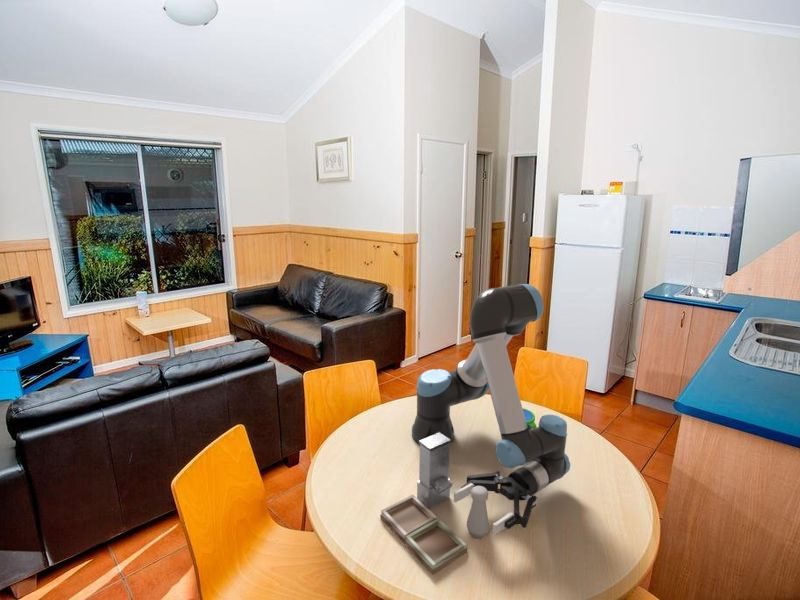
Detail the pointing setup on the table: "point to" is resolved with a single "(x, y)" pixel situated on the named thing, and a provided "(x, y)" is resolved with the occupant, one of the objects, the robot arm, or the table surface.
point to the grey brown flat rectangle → (423, 533)
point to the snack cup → (529, 419)
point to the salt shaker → (478, 513)
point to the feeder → (434, 470)
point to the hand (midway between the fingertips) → (473, 512)
